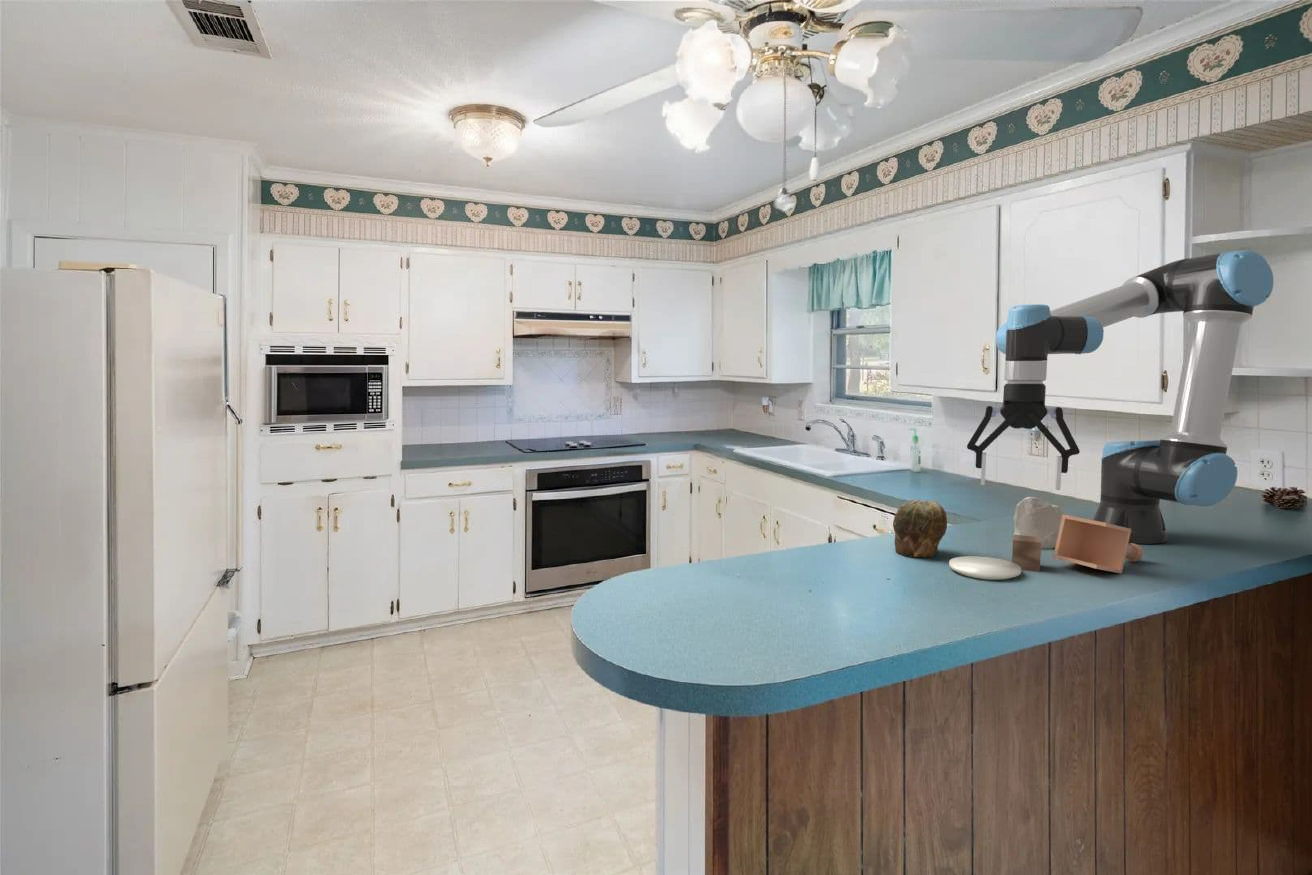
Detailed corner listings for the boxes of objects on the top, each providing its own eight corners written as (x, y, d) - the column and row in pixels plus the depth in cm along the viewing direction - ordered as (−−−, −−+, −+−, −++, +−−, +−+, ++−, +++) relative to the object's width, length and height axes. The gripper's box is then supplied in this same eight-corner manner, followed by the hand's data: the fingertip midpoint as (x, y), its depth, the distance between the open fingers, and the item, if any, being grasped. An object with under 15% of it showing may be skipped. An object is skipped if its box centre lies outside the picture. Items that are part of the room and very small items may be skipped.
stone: (1055, 544, 160) (1058, 494, 159) (1064, 550, 155) (1067, 498, 154) (1008, 542, 162) (1010, 493, 161) (1015, 548, 157) (1017, 497, 156)
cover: (1053, 557, 142) (1112, 569, 150) (1096, 568, 134) (1156, 580, 142) (1062, 514, 142) (1121, 528, 150) (1106, 522, 134) (1165, 537, 142)
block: (1039, 565, 143) (1040, 536, 143) (1039, 571, 139) (1041, 542, 138) (1012, 562, 146) (1013, 534, 145) (1011, 568, 141) (1012, 539, 141)
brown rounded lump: (938, 563, 146) (939, 506, 145) (886, 555, 153) (887, 501, 151) (952, 552, 155) (953, 498, 153) (902, 545, 161) (903, 494, 160)
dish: (998, 561, 146) (998, 555, 146) (1035, 580, 133) (1035, 573, 133) (937, 563, 146) (938, 557, 145) (968, 582, 133) (968, 575, 133)
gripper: (1094, 383, 139) (1087, 488, 141) (958, 381, 149) (954, 479, 151) (1100, 383, 132) (1093, 494, 134) (956, 382, 143) (952, 484, 145)
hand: (1019, 486), depth 143 cm, fingers open, 13 cm apart
